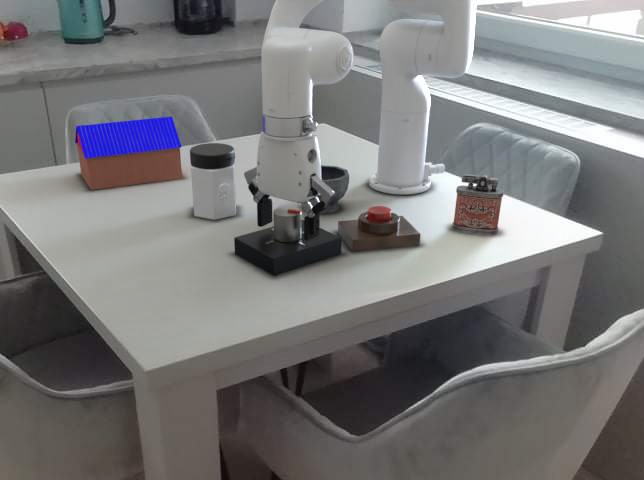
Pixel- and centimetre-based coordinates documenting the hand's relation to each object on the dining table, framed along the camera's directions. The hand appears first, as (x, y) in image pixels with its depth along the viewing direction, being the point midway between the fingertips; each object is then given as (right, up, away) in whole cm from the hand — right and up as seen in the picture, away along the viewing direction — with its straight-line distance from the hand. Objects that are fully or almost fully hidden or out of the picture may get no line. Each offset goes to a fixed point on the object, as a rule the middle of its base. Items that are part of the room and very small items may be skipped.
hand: (287, 231), depth 124 cm
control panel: (0, -4, +2) cm, 4 cm away
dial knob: (0, -1, +1) cm, 1 cm away
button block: (+16, 0, +8) cm, 18 cm away
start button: (+16, +3, +6) cm, 17 cm away
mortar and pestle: (+6, +8, +21) cm, 23 cm away
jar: (-14, +7, +20) cm, 25 cm away
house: (-34, +18, +38) cm, 54 cm away
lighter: (+33, +2, +11) cm, 35 cm away
